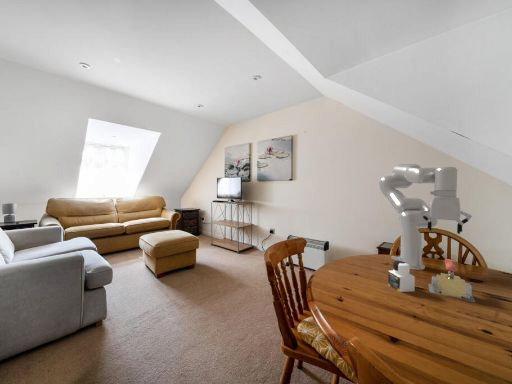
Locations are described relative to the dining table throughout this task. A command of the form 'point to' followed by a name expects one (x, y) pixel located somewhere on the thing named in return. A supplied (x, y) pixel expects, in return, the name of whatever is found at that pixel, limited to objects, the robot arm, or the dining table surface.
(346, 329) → the dining table surface
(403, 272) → the medicine bottle
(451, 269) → the lever
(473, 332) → the dining table surface
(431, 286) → the mat
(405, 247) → the robot arm
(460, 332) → the dining table surface
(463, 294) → the valve
